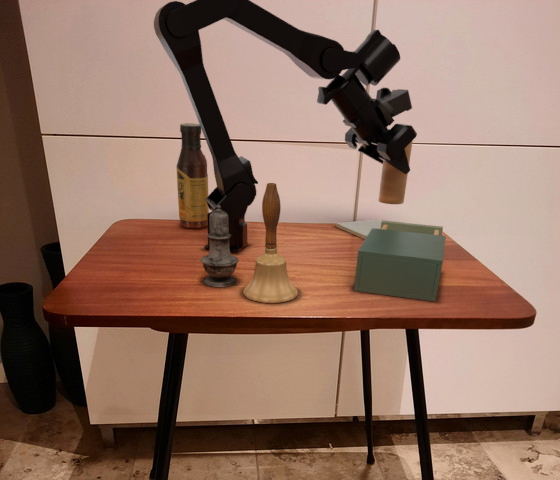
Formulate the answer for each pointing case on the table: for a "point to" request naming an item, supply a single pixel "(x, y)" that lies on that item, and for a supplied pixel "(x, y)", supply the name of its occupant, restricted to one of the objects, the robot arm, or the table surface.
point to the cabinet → (400, 264)
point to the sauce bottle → (192, 179)
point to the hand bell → (270, 259)
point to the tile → (360, 227)
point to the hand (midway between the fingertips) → (401, 170)
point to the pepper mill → (393, 182)
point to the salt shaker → (219, 252)
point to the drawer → (411, 227)
